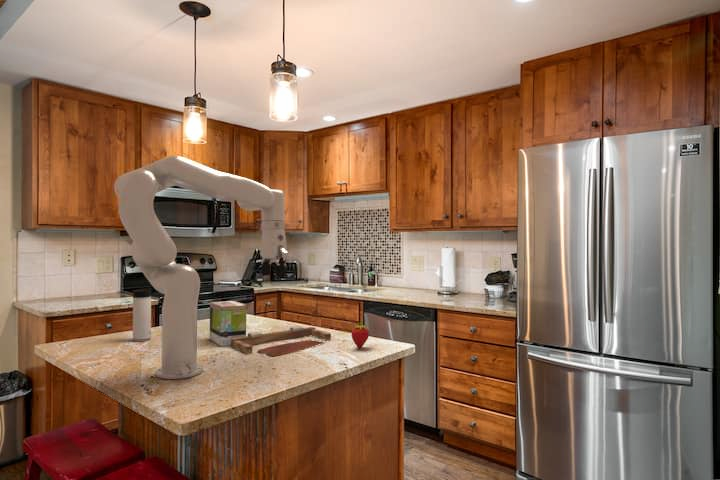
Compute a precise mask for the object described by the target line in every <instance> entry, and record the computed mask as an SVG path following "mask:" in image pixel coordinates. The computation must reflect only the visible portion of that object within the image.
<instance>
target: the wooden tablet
mask: <svg viewBox="0 0 720 480" xmlns="http://www.w3.org/2000/svg"><path fill="white" fill-rule="evenodd" d="M312 340H313V339H307V340H300V341H295V342H288V343H283V344H278V345H277V344H276V345H271V346H269V347H268V346H267V347H263V348H260V349H258V350H257V354H261V355H265V356H267V357H272V358H274V357H279V356H280V357H281V356H283V355H289V354H292V353H296V352H300V351H304V350H306V348H307V349H310V348H309V347H311V348H313V347H312V346H314V347H316V346H315V345H318V344H321V343H323V342H324V341H321V342H319V341H320V340H314V341H312ZM321 345H322V344H321ZM318 346H319V345H318ZM299 350H300V351H299Z"/></svg>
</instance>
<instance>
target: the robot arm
mask: <svg viewBox="0 0 720 480" xmlns="http://www.w3.org/2000/svg"><path fill="white" fill-rule="evenodd" d="M175 186H177V187H179V188H182V189H184V190H188V191H190V192H194V193H196V194H200V195H202V196H205V197H207V198H213V199H218V200H219V199H220V200H221V199H223V200H233V201H236V202H237V205H238V206H239V208H241V209H242V210H244V211H247V212H253V211H261V231H262V235H261V245H260V246H261V250H260V251H259V254H260V260H261V262H260V264H261V276H263V277H264V276H271V273H272V271H271V270H272V267H271V260H274V261H275V264H276V265H275V277H276V278H285V275H286V272H285V271H286V268H285V267H286V265H287V264H286V263H287V258H288V250H287V249H288V248H287V237H286V236H287V235H286V232H285V231H286V230H285V193H284V191H283V190H280V189H271V188H269V187H268V186H266V185H265V184H262V183H259V182H258V181H254V180H253V179H250V178H247V177H242V176H239V175H235V174H231V173H227V172H222V171H219V170H217V169H214V168H212V167H209V166H206V165H204V164H202V163H199V162H196V161H194V160H192V159H188V158H187V157H183V156H181V155H170V156H168V157H167V156H166V157H165V158H161V159H158V160H157V161H154V162H152V163H150V164H148V165H147V164H146V165H144V166H143V167H140V168H136V169H134V170H131V171H128V172H126V173H123V174H121V175H120V176H119V177H117V178H116V179H115V181H114V185H113V188H114V192H115V194H116V196H117V197H118V198H119V199H118V214H119V215H118V216H119V218H120V219H119V220H120V222H121V224H122V225H123V227H124V229H125V231H126V232H127V234H128V236H129V237H130V239H131V240H132V243H131V247H130V253H131V257H132V259H133V261H134V263H135V264H136V265H137V266H138V268H139V269H140V271H141V272H142V273H143V275H144V277H145V278H146V279H147V280H148V282H149V284H150V285H151V287H153V288H154V289H155V291H157V292H158V293H161V294H163V295H164V297H163V301H162V307H161V367H159V368H157V369H156V370H155V376H156V377H157V378H160V379H164V380H179V379H180V380H181V379H186V378H191V377H194V376H197V375H199V374H201V373H202V372H203V366H202V365H201V364H200V363H199V364H198V303H199V302H198V301H199V294H200V289H201V279H200V276H199V273H198V272H197V270H196V269H195V268H194V267H192V266H190V265H187V264H184V263H183V264H181V263H176V261H175V260H176V258H177V254H178V250H177V247H176V244H175V242H174V240H173V239H172V237H171V236H170V235H169V234H168V232H167V230H166V229H165V227H164V226H163V225H162V223H161V222H160V220H159V218H158V216H157V215H156V212H155V210H154V200H155V197H156V195H157V194H158V193H160V192H162V191H165V190H167V189H169V188H171V187H175Z"/></svg>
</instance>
